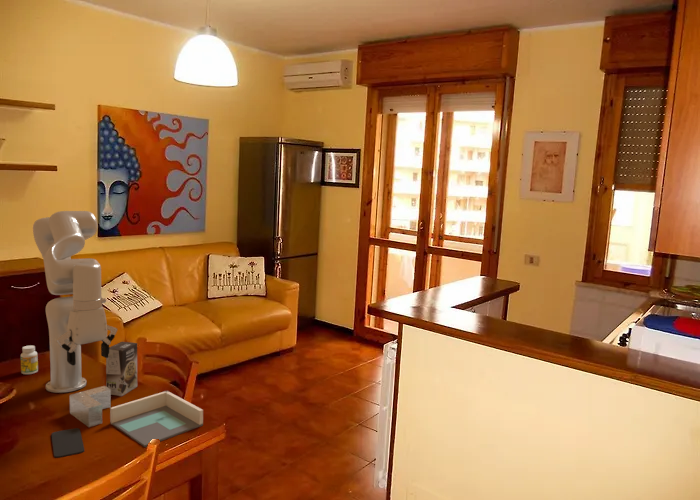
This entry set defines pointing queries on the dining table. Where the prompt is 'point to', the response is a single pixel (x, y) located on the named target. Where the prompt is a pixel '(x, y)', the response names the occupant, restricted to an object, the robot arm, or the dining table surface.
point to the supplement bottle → (29, 360)
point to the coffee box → (121, 368)
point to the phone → (67, 442)
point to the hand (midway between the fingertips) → (88, 360)
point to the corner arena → (156, 417)
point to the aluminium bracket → (90, 405)
